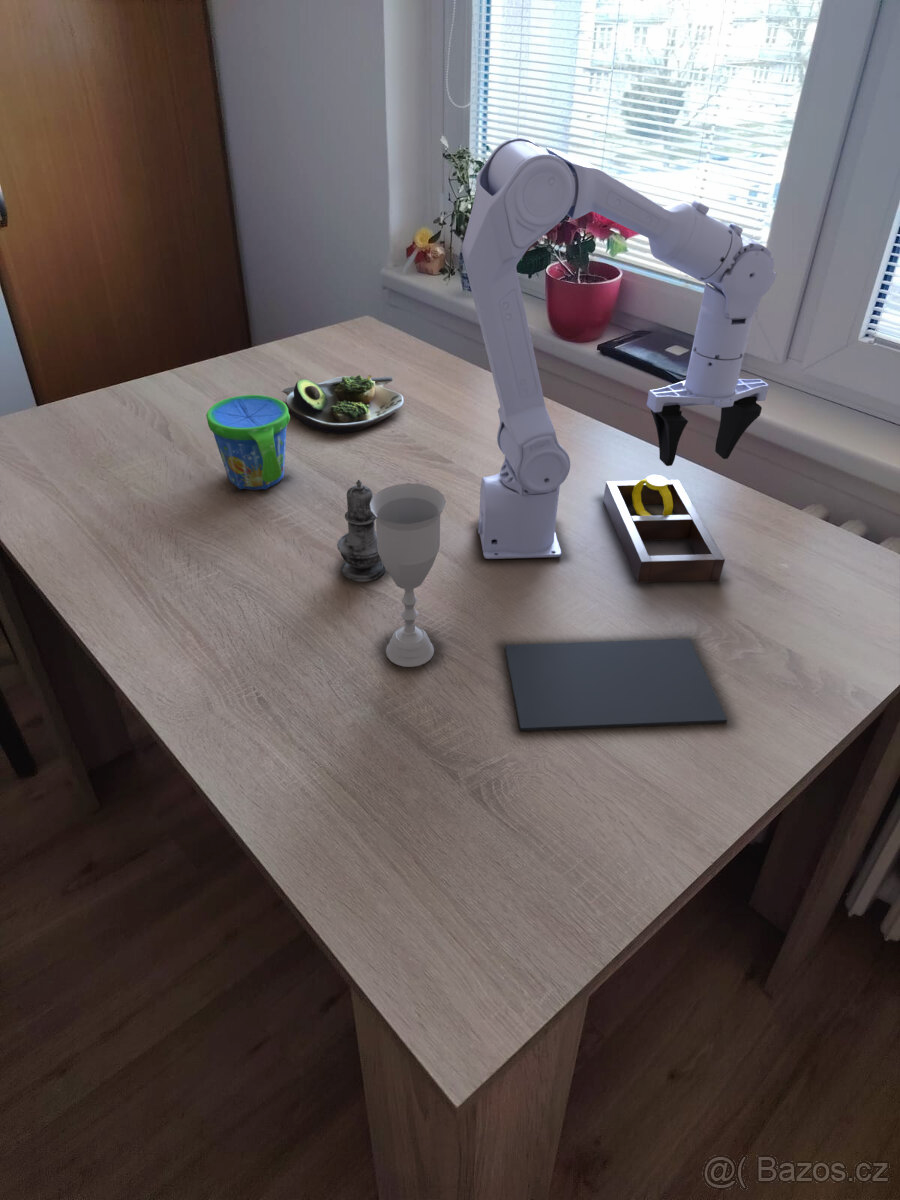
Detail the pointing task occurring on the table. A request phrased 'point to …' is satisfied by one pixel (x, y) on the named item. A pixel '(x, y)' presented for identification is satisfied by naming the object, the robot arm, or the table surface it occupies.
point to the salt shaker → (360, 538)
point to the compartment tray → (663, 535)
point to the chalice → (408, 557)
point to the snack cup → (251, 439)
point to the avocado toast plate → (342, 403)
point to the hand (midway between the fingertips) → (693, 458)
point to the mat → (610, 685)
